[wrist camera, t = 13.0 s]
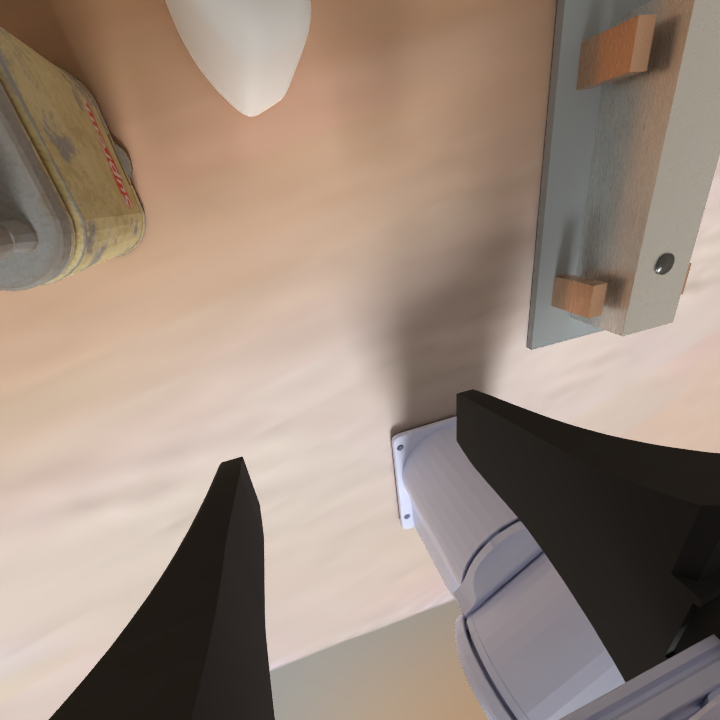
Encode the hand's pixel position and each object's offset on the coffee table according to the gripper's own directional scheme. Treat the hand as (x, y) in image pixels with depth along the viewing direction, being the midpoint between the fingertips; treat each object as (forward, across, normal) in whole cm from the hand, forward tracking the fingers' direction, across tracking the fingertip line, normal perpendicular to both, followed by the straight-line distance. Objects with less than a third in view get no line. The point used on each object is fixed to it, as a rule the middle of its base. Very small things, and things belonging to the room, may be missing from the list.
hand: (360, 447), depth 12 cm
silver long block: (+10, -20, -5) cm, 23 cm away
